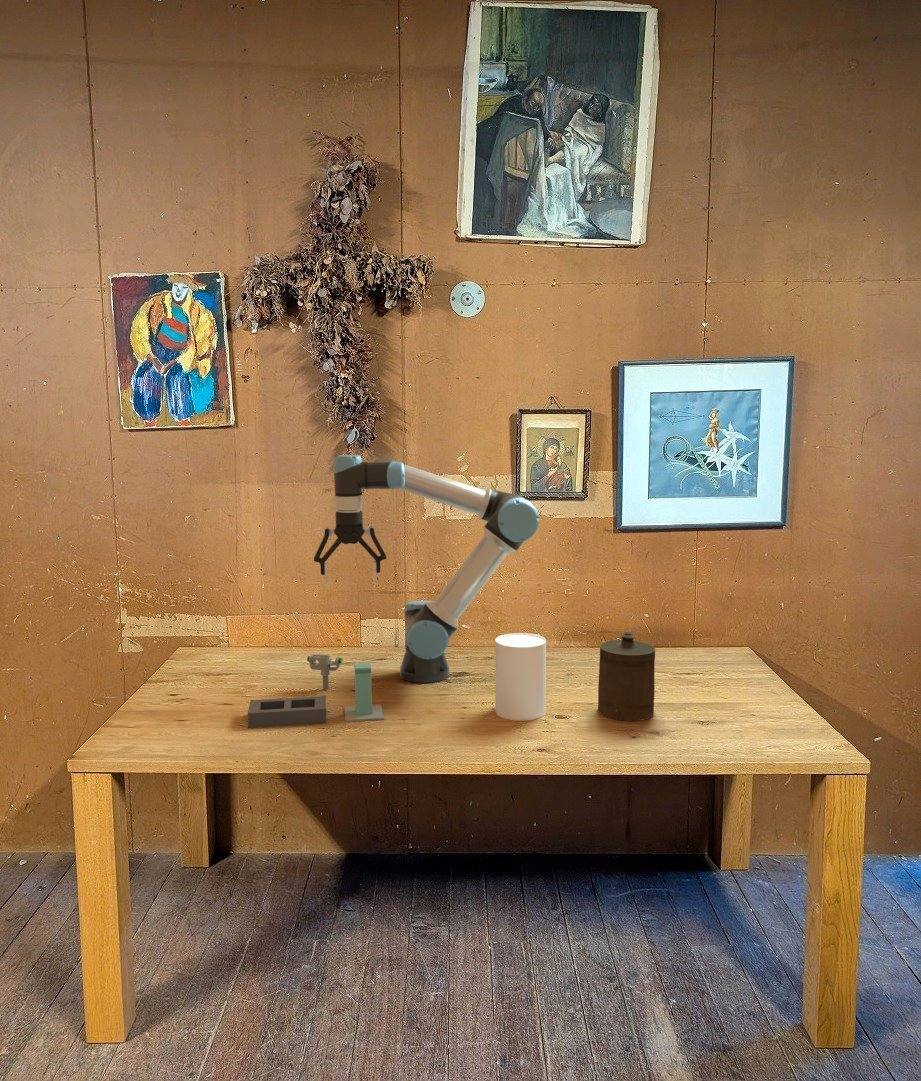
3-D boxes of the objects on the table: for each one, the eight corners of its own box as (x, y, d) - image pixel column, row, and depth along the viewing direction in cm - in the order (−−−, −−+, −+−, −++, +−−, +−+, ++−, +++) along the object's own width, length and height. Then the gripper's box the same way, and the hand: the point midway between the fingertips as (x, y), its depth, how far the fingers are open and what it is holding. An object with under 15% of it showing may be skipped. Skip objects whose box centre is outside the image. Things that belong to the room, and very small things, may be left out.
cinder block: (326, 709, 241) (325, 695, 240) (326, 723, 231) (325, 708, 231) (251, 714, 238) (250, 700, 237) (248, 728, 228) (247, 713, 228)
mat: (381, 706, 243) (381, 704, 243) (383, 719, 233) (383, 717, 233) (344, 708, 242) (344, 706, 242) (345, 722, 232) (345, 719, 232)
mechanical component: (340, 692, 255) (339, 658, 253) (307, 690, 257) (306, 656, 255) (344, 688, 258) (343, 655, 256) (311, 686, 260) (309, 654, 258)
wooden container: (640, 700, 247) (642, 624, 243) (663, 719, 233) (665, 638, 229) (589, 704, 244) (591, 627, 240) (610, 724, 230) (612, 642, 226)
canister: (555, 711, 239) (556, 639, 236) (522, 724, 230) (522, 650, 226) (518, 699, 248) (518, 630, 245) (485, 711, 239) (484, 640, 236)
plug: (371, 708, 240) (370, 662, 238) (372, 714, 236) (371, 667, 234) (355, 709, 239) (354, 663, 237) (356, 715, 235) (354, 668, 233)
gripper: (392, 507, 251) (393, 580, 255) (303, 510, 248) (306, 583, 251) (394, 511, 244) (396, 586, 248) (303, 513, 240) (306, 589, 244)
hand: (350, 585), depth 250 cm, fingers open, 13 cm apart
